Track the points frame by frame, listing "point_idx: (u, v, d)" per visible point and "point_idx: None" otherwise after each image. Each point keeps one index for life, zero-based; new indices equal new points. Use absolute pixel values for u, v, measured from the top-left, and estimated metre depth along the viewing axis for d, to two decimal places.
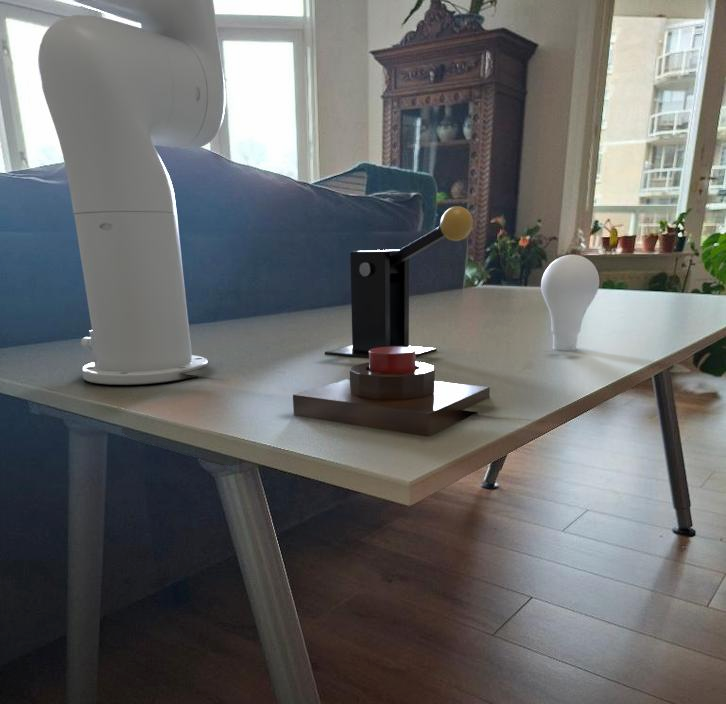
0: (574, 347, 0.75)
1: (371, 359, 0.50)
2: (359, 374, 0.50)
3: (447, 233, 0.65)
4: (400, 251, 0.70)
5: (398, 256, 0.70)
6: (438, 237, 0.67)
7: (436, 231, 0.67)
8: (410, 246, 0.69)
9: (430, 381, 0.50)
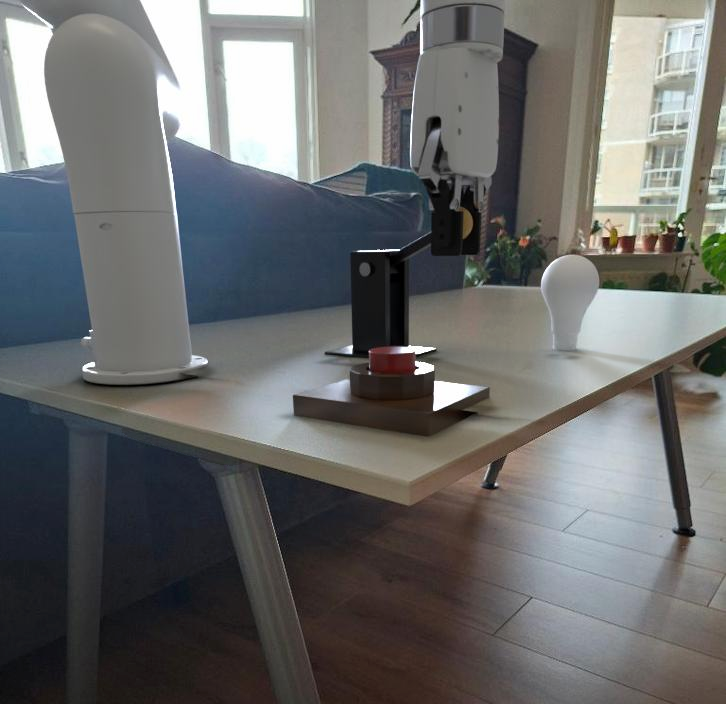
0: (574, 347, 0.75)
1: (371, 359, 0.50)
2: (359, 374, 0.50)
3: None
4: (400, 251, 0.70)
5: (398, 256, 0.70)
6: None
7: None
8: (410, 246, 0.69)
9: (430, 381, 0.50)
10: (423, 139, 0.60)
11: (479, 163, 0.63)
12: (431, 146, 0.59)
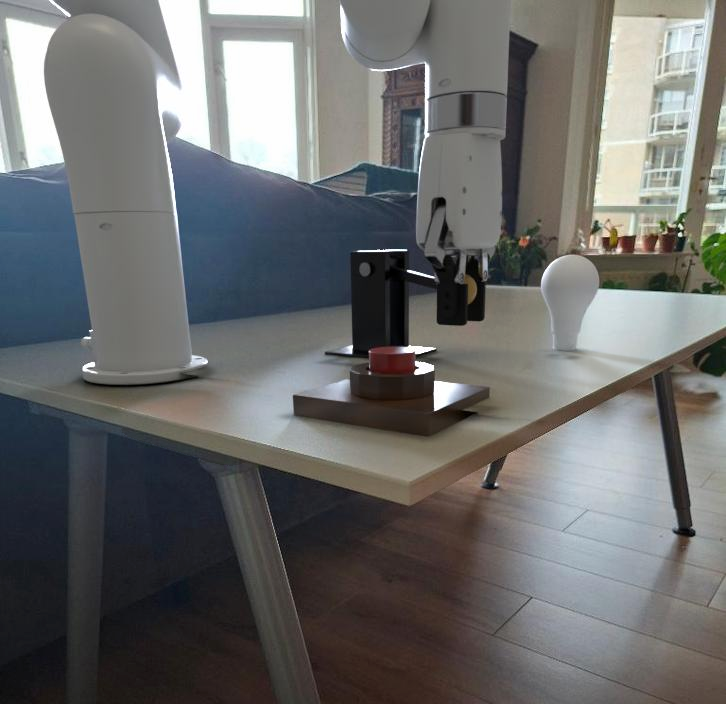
0: (574, 347, 0.75)
1: (371, 359, 0.50)
2: (359, 374, 0.50)
3: None
4: (404, 272, 0.70)
5: (400, 274, 0.70)
6: None
7: None
8: (414, 276, 0.70)
9: (430, 381, 0.50)
10: (428, 217, 0.62)
11: (483, 237, 0.65)
12: (436, 225, 0.61)
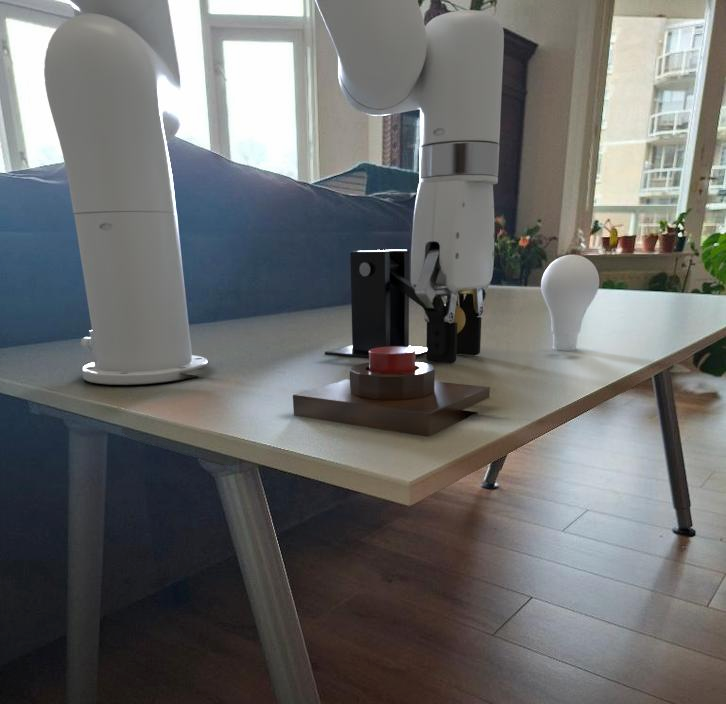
0: (574, 347, 0.75)
1: (371, 359, 0.50)
2: (359, 374, 0.50)
3: None
4: (401, 282, 0.71)
5: (397, 283, 0.71)
6: None
7: None
8: (410, 290, 0.70)
9: (430, 381, 0.50)
10: (422, 261, 0.64)
11: (475, 278, 0.67)
12: (429, 265, 0.63)
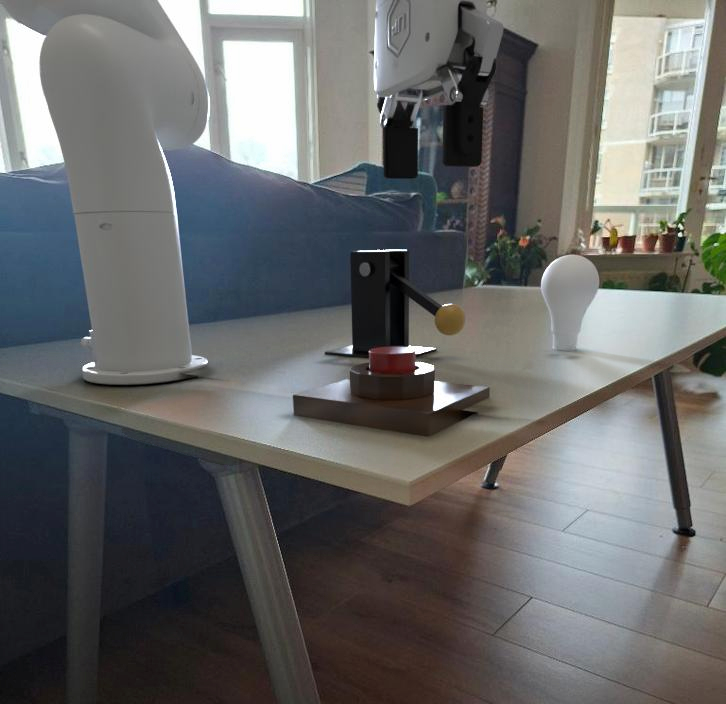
0: (574, 347, 0.75)
1: (371, 359, 0.50)
2: (359, 374, 0.50)
3: (436, 322, 0.69)
4: (401, 282, 0.71)
5: (397, 283, 0.71)
6: (430, 312, 0.70)
7: (433, 307, 0.69)
8: (410, 290, 0.70)
9: (430, 381, 0.50)
10: (455, 28, 0.47)
11: None
12: (477, 12, 0.46)
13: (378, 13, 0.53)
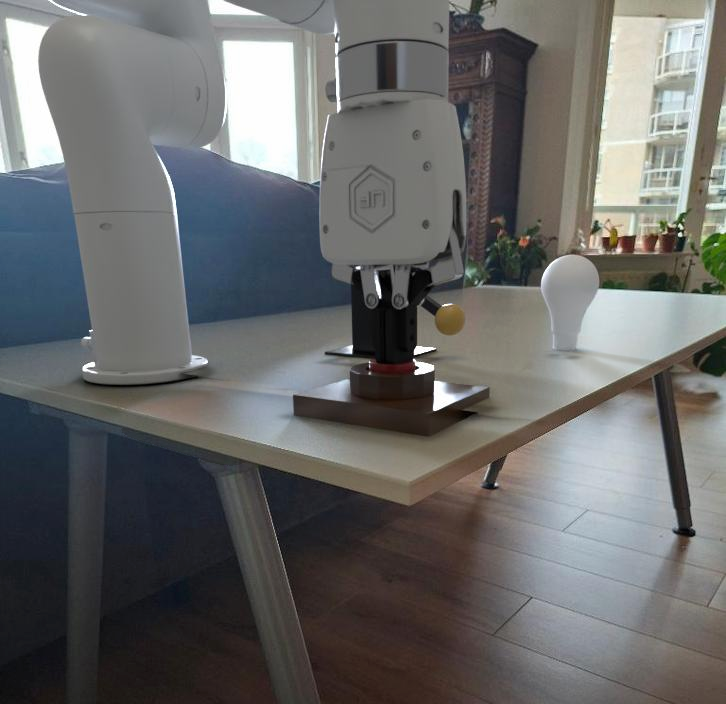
0: (574, 347, 0.75)
1: (371, 370, 0.51)
2: (359, 374, 0.50)
3: (436, 322, 0.69)
4: None
5: None
6: (430, 312, 0.70)
7: (433, 307, 0.69)
8: None
9: (430, 381, 0.50)
10: (451, 217, 0.44)
11: None
12: (453, 235, 0.46)
13: (329, 176, 0.47)
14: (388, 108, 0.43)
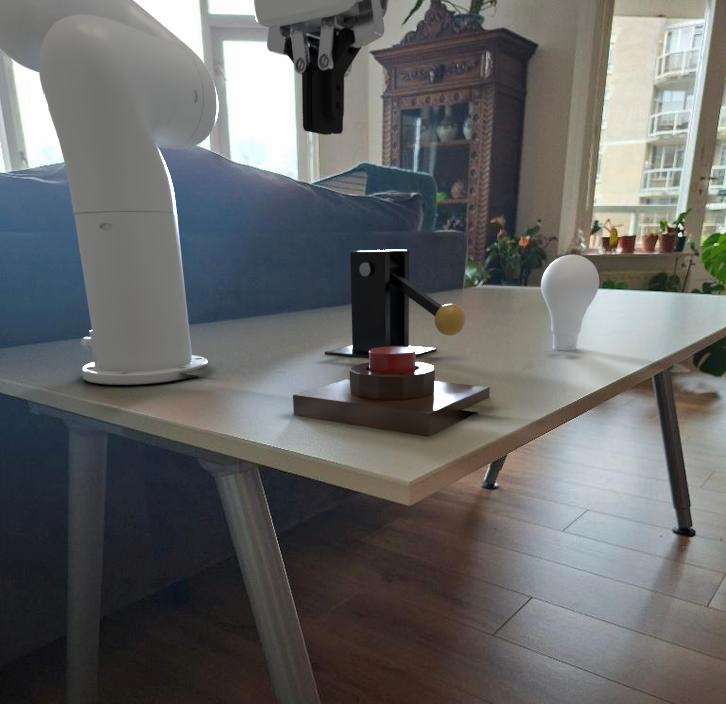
0: (574, 347, 0.75)
1: (371, 359, 0.50)
2: (359, 374, 0.50)
3: (436, 322, 0.69)
4: (401, 282, 0.71)
5: (397, 283, 0.71)
6: (430, 312, 0.70)
7: (433, 307, 0.69)
8: (410, 290, 0.70)
9: (430, 381, 0.50)
10: None
11: None
12: None
13: None
14: None
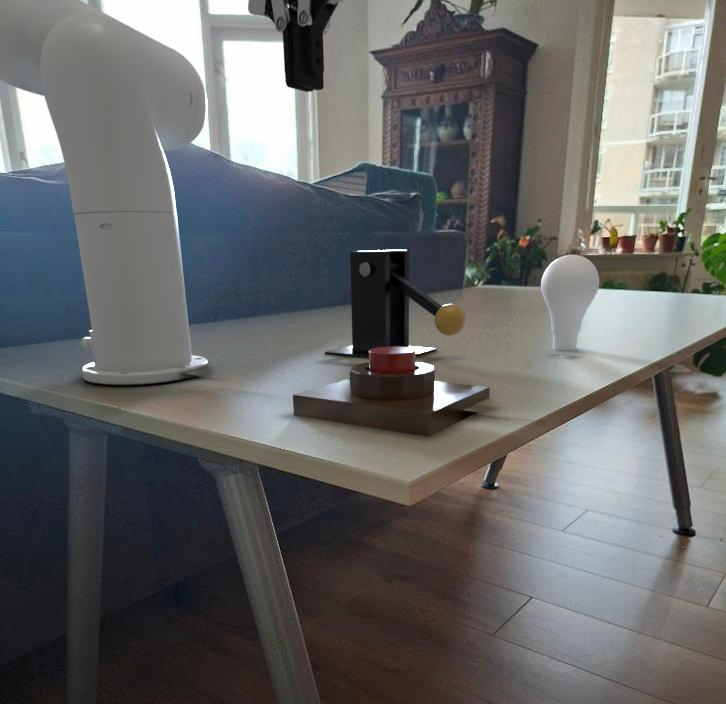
0: (574, 347, 0.75)
1: (371, 359, 0.50)
2: (359, 374, 0.50)
3: (436, 322, 0.69)
4: (401, 282, 0.71)
5: (397, 283, 0.71)
6: (430, 312, 0.70)
7: (433, 307, 0.69)
8: (410, 290, 0.70)
9: (430, 381, 0.50)
10: None
11: None
12: None
13: None
14: None
